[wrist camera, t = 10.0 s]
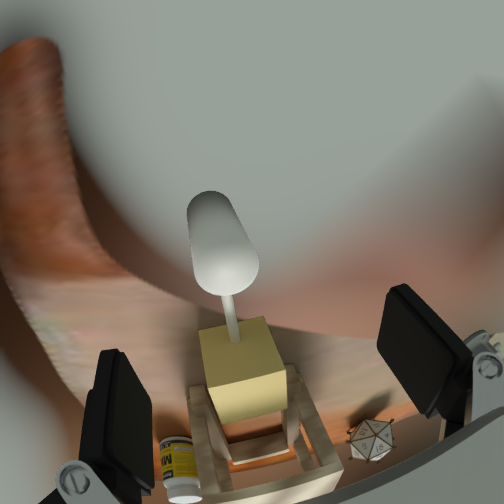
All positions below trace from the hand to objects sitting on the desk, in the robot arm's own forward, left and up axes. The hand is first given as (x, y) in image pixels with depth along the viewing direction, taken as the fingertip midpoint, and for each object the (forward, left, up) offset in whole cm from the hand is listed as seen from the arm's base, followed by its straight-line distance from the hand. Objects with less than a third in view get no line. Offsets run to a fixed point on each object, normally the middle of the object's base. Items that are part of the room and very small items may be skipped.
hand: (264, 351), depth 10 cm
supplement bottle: (+10, +29, -12) cm, 33 cm away
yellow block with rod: (0, +6, -12) cm, 14 cm away
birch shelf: (0, +26, -12) cm, 28 cm away
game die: (-17, +39, -12) cm, 44 cm away
